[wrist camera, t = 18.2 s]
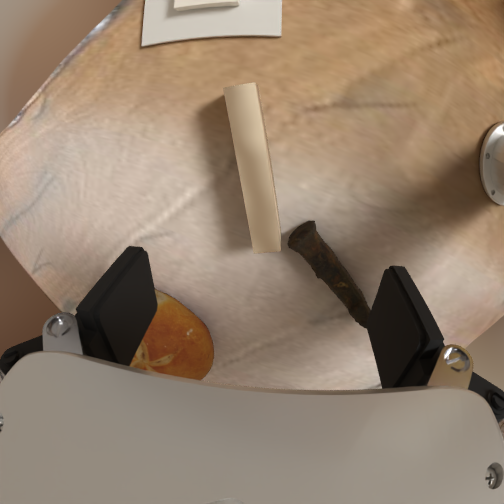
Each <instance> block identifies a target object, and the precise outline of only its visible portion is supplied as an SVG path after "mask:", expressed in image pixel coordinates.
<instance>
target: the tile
mask: <svg viewBox="0 0 504 504" xmlns="http://www.w3.org/2000/svg"><path fill="white" fill-rule="evenodd" d="M239 5H240V0H175V2H174V8H175V9H176V10H177V11H183V10H190V9H198V8H208V7H220V6H239Z"/></svg>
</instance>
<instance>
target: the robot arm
mask: <svg viewBox="0 0 504 504" xmlns="http://www.w3.org/2000/svg"><path fill="white" fill-rule="evenodd" d="M480 176H481V181H482V184H483V187H484V190H485V192H486V193H487V195H488V196H489V198H491V199H492V200H493V201H494V202H496V203H497V204H499V205H503V206H504V122H499V123H497V124H495V125H494V126H493V127H492V128H491V129H490V130H489V132H488V133H487V135H486V137H485V139H484V142H483V145H482V148H481V154H480ZM157 308H158V303H157V298H156V293H155V289H154V284H153V279H152V274H151V268H150V263H149V258H148V253H147V252H146V251H144V249H143V248H142V247H134V246H129V247H127V248H126V250H125V251H124V252H123V253H122V254H121V255H120V256H119V257H118V259H117V260H116V261H115V262H114V263H113V264H112V265H111V267H110V268H109V269H108V270H107V271H106V272H105V274H104V275H103V276H102V277H101V278H100V279H99V281H98V282H97V283H96V284H95V285H94V287H93V288H92V289H91V290H90V292H89V293H88V294H87V295H86V297H85V298H84V299H83V300H82V302H81V303H80V304H79V305H78V307H77V308H76V310H77V314H76V315H75V316H74V315H73V314H71V313H66V312H63V313H59V314H56V315H54V316H52V317H51V318H49V319H48V320H47V322H46V323H45V325H44V326H43V335H41V336H39V337H36V338H34V339H31V340H29V341H26V342H23V343H21V344H18V345H16V346H13V347H11V348H9V349H7V350H6V351H5V352H4V354H3V355H2V357H1V359H0V504H504V392H503V391H502V390H501V389H499V388H498V387H496V386H495V385H493V384H491V383H490V382H488V381H487V380H485V379H484V378H482V377H480V376H479V375H477V374H476V373H474V372H473V360H472V357H471V356H470V354H469V353H468V352H467V351H466V350H465V349H464V348H462V347H461V346H458V345H453V344H450V345H447V346H445V345H444V343H443V340H444V338H443V336H442V333H441V331H440V329H439V327H438V325H437V324H436V322H435V320H434V318H433V316H432V314H431V312H430V310H429V308H428V306H427V305H426V303H425V301H424V299H423V297H422V296H421V294H420V292H419V290H418V289H417V287H416V285H415V283H414V282H413V280H412V278H411V277H410V275H409V273H408V272H407V270H406V268H405V267H403V266H390V267H389V269H386V270H385V271H384V274H383V277H382V280H381V283H380V286H379V289H378V292H377V295H376V298H375V301H374V304H373V306H372V309H371V312H370V314H369V317H368V320H367V330H368V334H369V337H370V341H371V345H372V349H373V352H374V356H375V360H376V364H377V368H378V372H379V376H380V381H381V385H382V389H364V390H295V389H275V388H261V387H250V386H240V385H231V384H223V383H215V382H208V381H201V380H195V379H189V378H183V377H177V376H172V375H167V374H161V373H157V372H152V371H147V370H143V369H138V368H134V367H130V364H131V362H132V360H133V358H134V356H135V354H136V351H137V349H138V347H139V345H140V343H141V341H142V339H143V337H144V335H145V333H146V331H147V329H148V327H149V325H150V323H151V322H152V320H153V318H154V316H155V314H156V312H157Z"/></svg>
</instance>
